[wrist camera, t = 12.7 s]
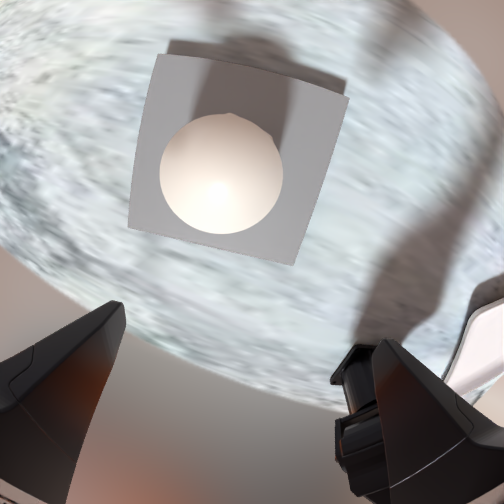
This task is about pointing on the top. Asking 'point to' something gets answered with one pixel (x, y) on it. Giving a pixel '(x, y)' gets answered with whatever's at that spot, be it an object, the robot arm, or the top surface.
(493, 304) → the salad plate
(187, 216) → the cap
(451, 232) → the top surface
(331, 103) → the post base
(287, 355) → the top surface
